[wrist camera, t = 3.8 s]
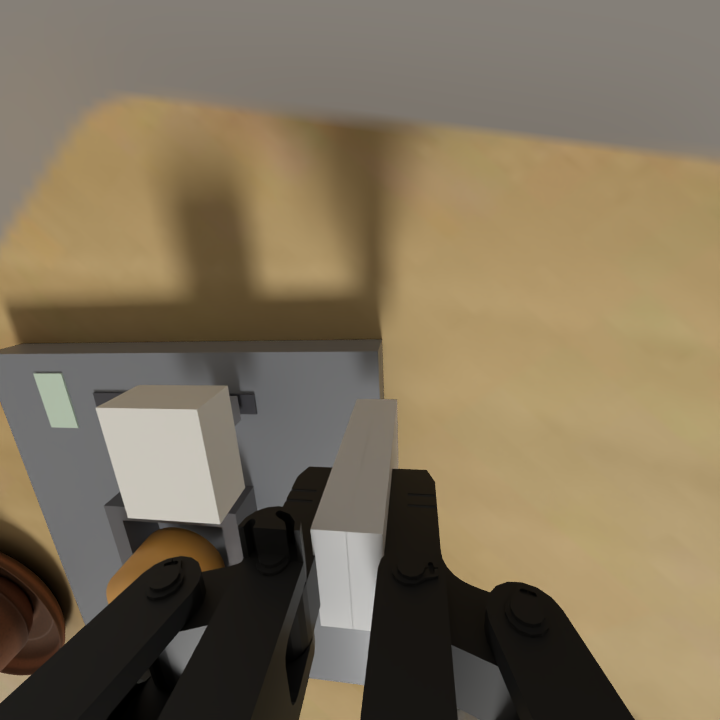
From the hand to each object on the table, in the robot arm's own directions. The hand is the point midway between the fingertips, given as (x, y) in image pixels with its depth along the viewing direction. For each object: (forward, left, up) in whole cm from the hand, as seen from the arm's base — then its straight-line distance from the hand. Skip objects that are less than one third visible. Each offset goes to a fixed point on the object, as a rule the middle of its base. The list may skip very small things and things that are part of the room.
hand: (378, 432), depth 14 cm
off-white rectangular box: (+7, 0, -3) cm, 8 cm away
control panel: (+10, +8, -5) cm, 14 cm away
